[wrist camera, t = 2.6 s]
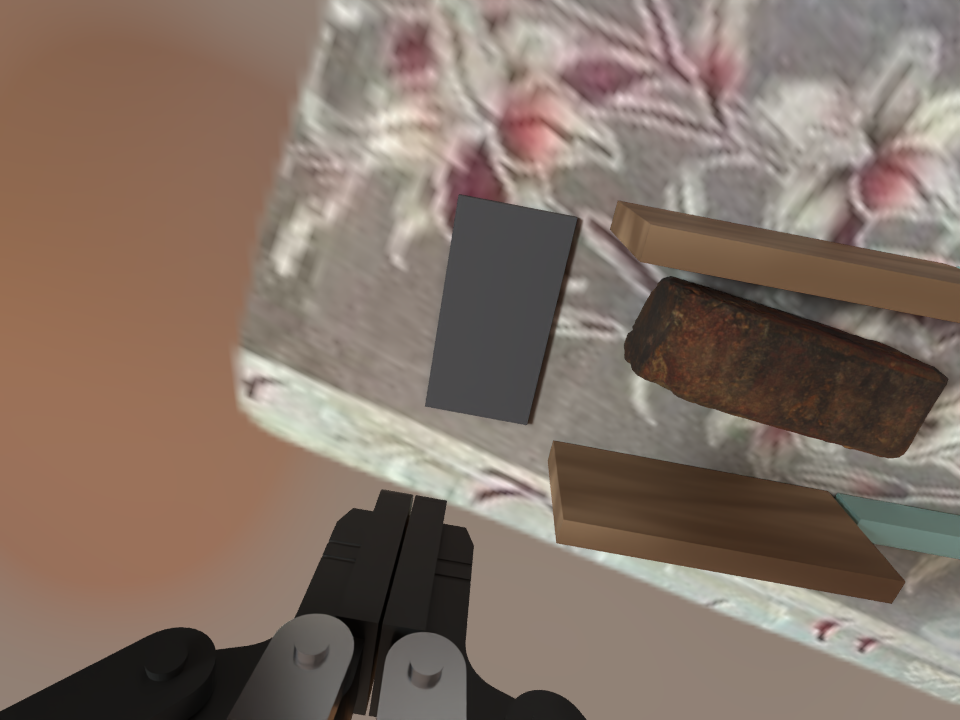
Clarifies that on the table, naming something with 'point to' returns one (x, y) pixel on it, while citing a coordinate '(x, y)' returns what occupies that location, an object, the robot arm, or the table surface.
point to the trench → (730, 497)
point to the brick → (781, 369)
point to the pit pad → (497, 307)
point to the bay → (904, 525)
